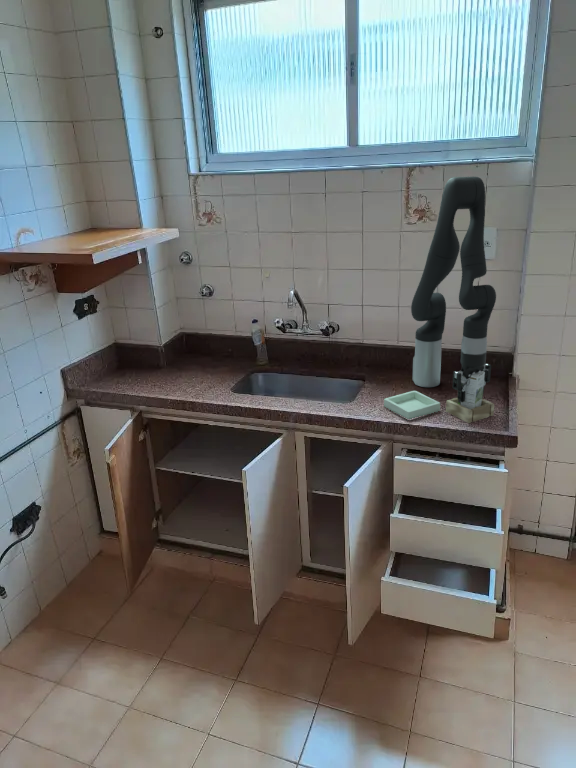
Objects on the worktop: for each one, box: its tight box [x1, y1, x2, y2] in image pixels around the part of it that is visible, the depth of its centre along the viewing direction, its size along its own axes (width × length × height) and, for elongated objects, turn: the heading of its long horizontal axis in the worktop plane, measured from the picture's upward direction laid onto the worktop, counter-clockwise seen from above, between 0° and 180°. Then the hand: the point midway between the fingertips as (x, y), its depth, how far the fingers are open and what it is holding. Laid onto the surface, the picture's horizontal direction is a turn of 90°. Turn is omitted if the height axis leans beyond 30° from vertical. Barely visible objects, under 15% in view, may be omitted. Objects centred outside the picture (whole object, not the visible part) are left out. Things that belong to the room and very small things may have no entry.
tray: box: [383, 390, 441, 419], centre depth 193 cm, size 13×13×3 cm
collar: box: [445, 397, 495, 424], centre depth 187 cm, size 10×10×4 cm
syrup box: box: [458, 371, 485, 410], centre depth 185 cm, size 6×6×14 cm
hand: (470, 398), depth 186 cm, fingers closed on syrup box, 7 cm apart
